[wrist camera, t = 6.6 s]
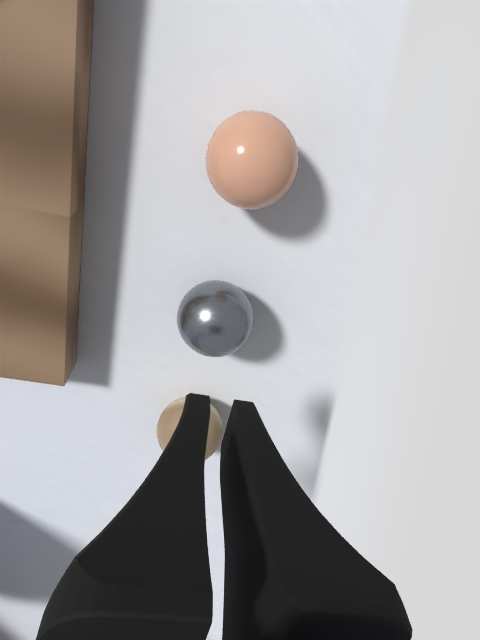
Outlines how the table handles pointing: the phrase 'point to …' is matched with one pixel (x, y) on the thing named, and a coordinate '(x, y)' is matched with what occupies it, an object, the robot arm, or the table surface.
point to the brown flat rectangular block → (42, 183)
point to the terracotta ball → (252, 159)
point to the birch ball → (172, 417)
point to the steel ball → (215, 318)
